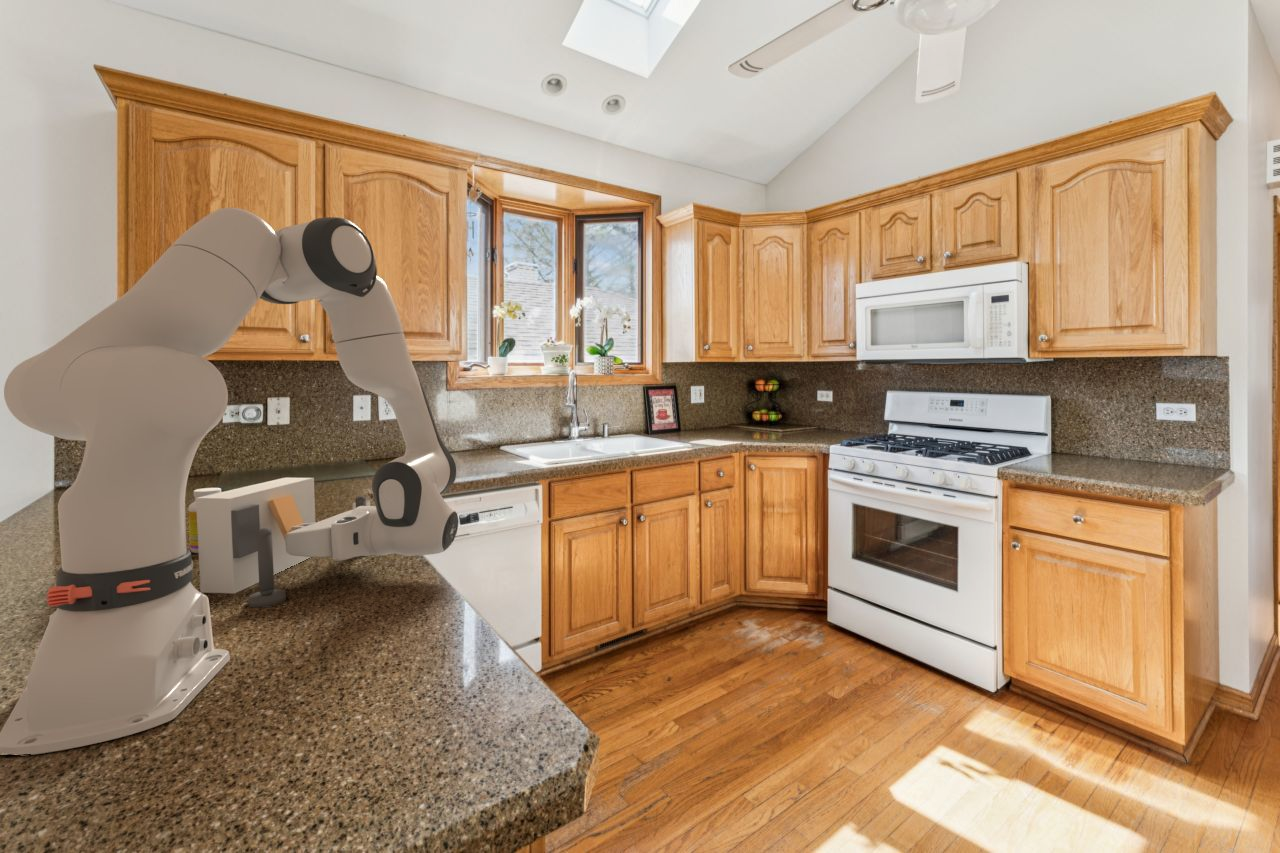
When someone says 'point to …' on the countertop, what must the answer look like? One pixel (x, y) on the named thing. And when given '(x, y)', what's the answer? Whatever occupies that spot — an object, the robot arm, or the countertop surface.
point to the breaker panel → (218, 542)
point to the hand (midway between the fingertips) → (295, 529)
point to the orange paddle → (285, 513)
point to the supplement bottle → (193, 516)
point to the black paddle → (245, 530)
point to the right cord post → (360, 501)
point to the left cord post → (266, 574)
